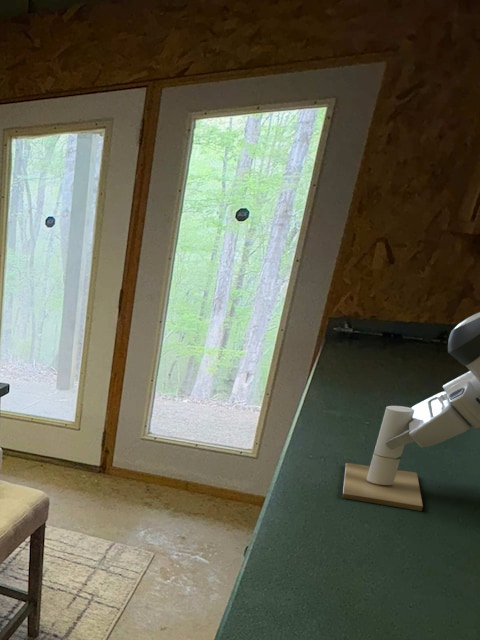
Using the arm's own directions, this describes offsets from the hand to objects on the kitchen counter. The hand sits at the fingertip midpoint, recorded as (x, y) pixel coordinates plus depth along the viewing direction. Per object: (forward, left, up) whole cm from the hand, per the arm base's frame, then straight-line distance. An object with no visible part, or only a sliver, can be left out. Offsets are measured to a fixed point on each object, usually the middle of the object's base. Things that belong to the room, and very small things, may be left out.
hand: (387, 442), depth 122 cm
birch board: (-1, 0, -9) cm, 10 cm away
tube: (0, 0, -8) cm, 8 cm away
